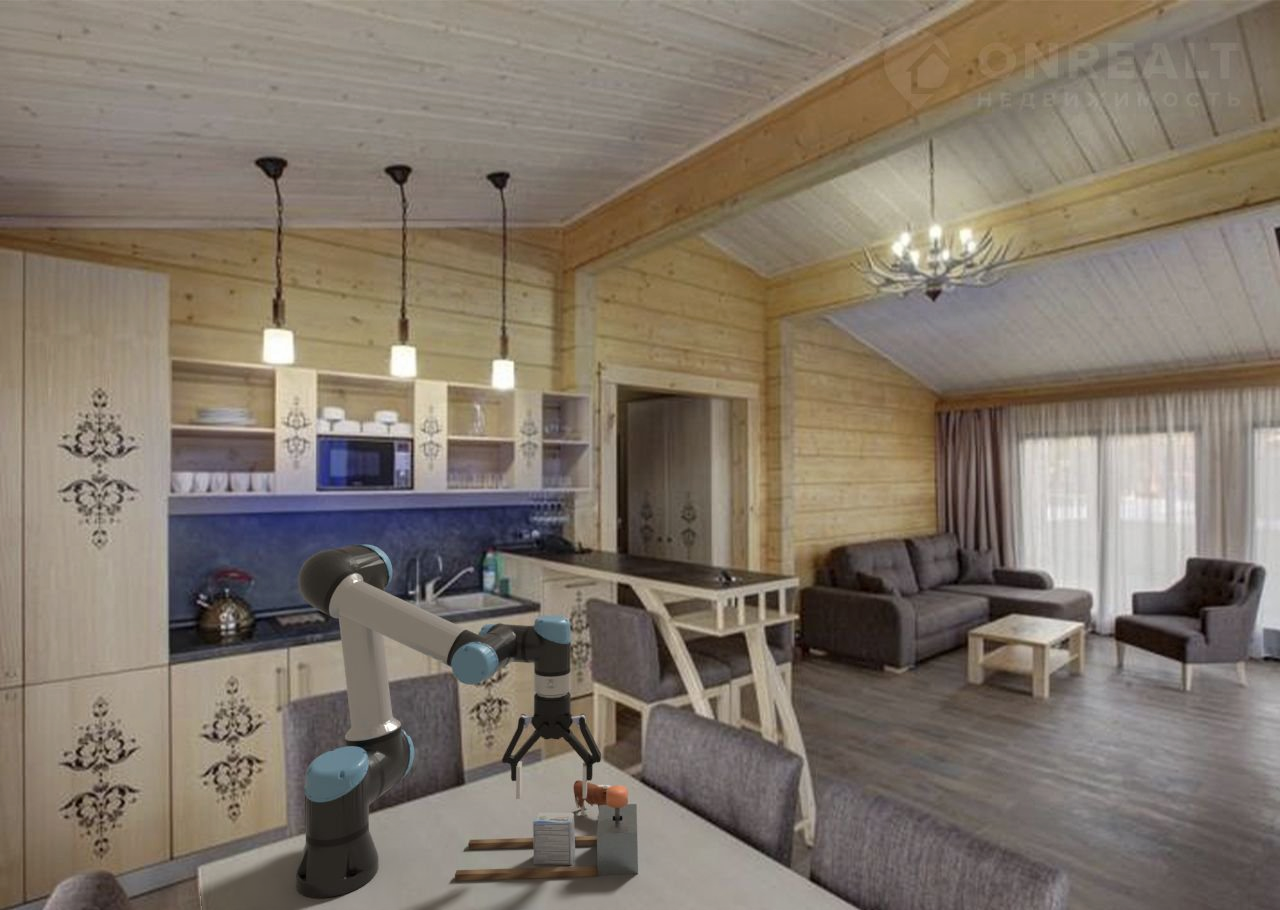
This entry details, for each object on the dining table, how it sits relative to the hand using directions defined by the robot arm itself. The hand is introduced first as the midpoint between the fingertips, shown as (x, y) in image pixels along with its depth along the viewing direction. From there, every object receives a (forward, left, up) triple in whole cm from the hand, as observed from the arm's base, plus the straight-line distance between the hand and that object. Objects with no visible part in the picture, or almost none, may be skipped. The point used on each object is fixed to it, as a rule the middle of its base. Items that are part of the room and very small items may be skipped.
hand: (551, 795), depth 145 cm
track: (-5, 0, -13) cm, 14 cm away
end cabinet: (+13, 0, -13) cm, 19 cm away
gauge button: (+13, 0, -6) cm, 15 cm away
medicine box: (0, 0, -13) cm, 13 cm away
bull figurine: (+8, +17, -13) cm, 23 cm away
